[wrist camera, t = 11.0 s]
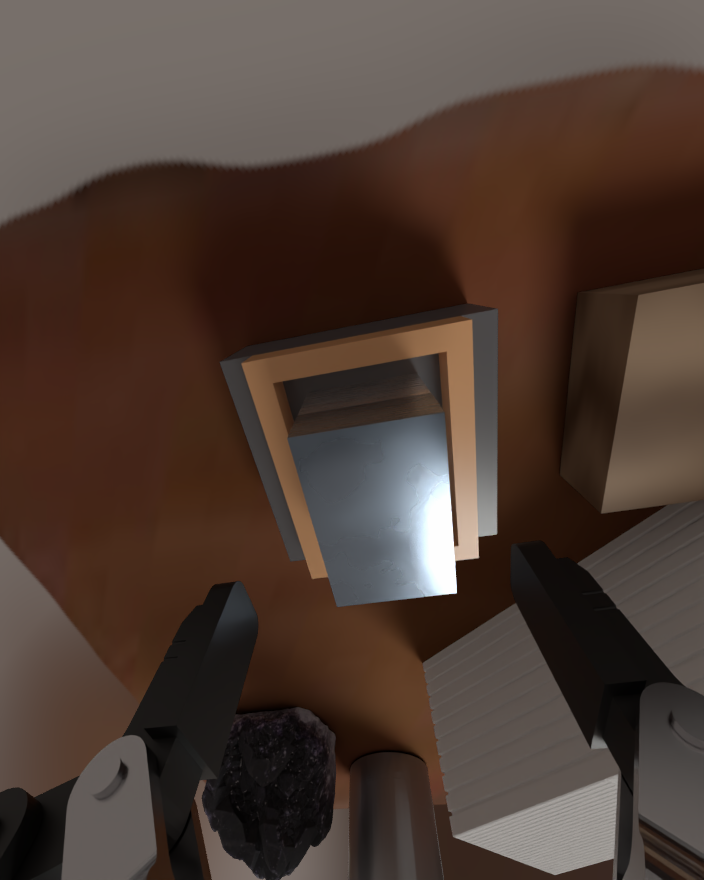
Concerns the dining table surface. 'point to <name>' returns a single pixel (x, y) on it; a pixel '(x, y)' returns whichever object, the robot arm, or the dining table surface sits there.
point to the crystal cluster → (273, 789)
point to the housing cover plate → (379, 497)
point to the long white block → (559, 704)
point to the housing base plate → (363, 393)
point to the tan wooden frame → (368, 359)
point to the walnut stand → (637, 394)
